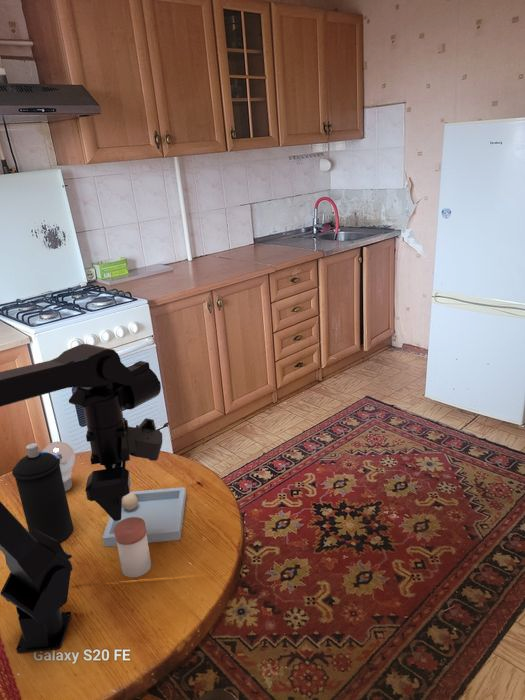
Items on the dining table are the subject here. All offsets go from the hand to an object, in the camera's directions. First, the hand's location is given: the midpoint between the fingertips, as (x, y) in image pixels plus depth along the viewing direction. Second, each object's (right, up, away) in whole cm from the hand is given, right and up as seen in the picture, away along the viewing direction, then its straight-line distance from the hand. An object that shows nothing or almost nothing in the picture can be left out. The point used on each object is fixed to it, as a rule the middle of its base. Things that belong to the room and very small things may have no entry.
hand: (119, 503), depth 91 cm
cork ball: (-3, -6, +18) cm, 19 cm away
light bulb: (-19, -5, +27) cm, 33 cm away
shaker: (+2, -12, +3) cm, 13 cm away
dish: (+2, -8, +15) cm, 17 cm away
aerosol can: (-16, -10, +13) cm, 23 cm away
